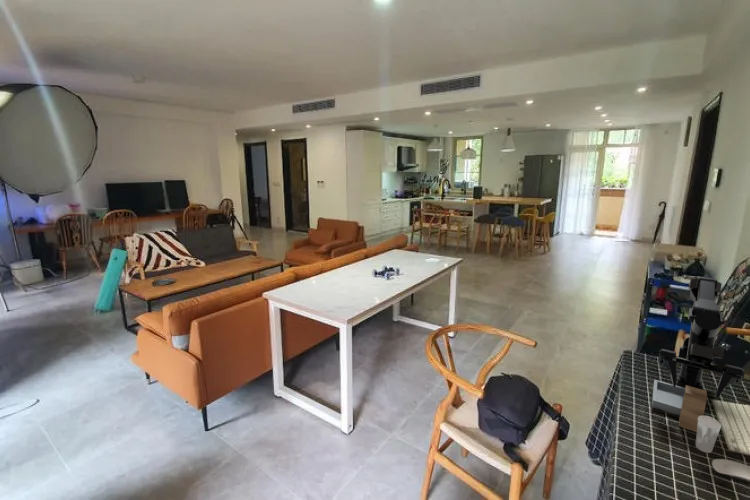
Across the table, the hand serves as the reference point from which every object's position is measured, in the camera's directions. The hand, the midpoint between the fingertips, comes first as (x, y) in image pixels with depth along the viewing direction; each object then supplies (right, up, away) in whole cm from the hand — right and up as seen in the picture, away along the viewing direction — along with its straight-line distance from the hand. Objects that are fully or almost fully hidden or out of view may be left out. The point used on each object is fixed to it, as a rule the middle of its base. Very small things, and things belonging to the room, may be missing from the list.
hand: (694, 392), depth 105 cm
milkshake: (-5, -12, -8) cm, 15 cm away
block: (-1, -10, +1) cm, 10 cm away
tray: (+2, -7, +11) cm, 13 cm away
